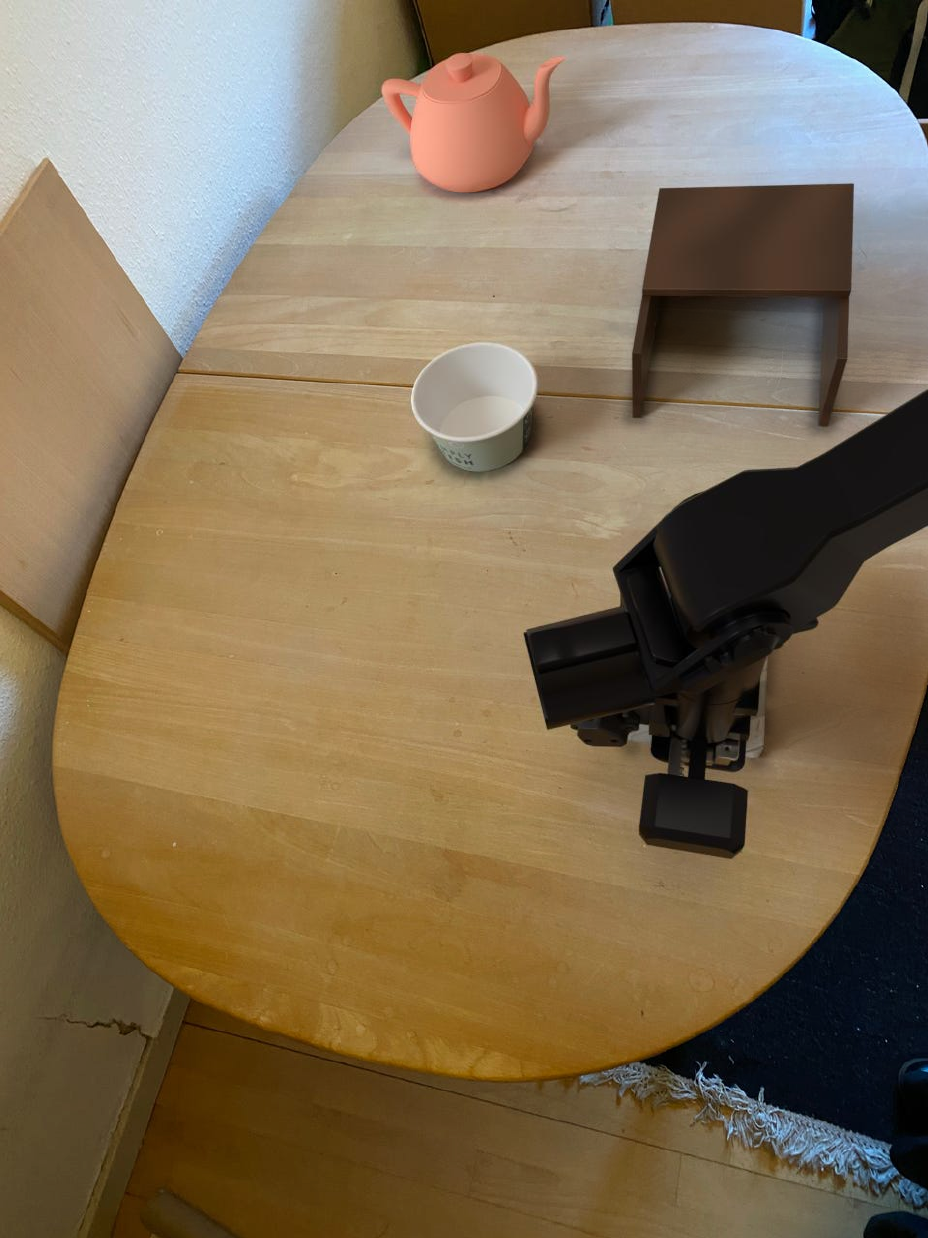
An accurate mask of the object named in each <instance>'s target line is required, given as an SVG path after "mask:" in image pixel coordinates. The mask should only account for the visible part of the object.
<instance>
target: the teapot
mask: <svg viewBox="0 0 928 1238" xmlns="http://www.w3.org/2000/svg"><path fill="white" fill-rule="evenodd" d="M564 58H565V57H564V56H562V55H561V56H556V57H553V58H550V59H548V60H547V61H545V62H543V63H542V64H541V65H539V67H538V69H537V71H536V73H535V75H534V82H533V101H532V103H530V101H529V98H528V96H527V94H526V92H525V90H524V89H523V87H522V86H521V85H520V83H519V82H518V80H517V79H516V77H515V76H514V75H513V74H512V72H511V71H510V70H509V69H508V68H507V67H506V66H505V65H504V64H503V63H502V62H501V61H500V60H499V59H498V58H496V57H494V56H491V55H488V54H483V53H467V52H458V53H455V54H453V55H451V56H449V57H448V58H446V59H443V60H442V61H440V62H438V63H437V64H435V65H434V66H433V67H432V68H431V69H430V70H429V71H428V73H427V74H426V76H425V77H424V79H423V81H422V83H421V84H420V83H418V82H415V81H411V80H407V79H402V78H389V79H387V80H385V81H384V82H383V83H382V85H381V94H382V98H383V100H384V103H385V104H386V106H387V107H388V109H389V112H391V113H392V115H393V116H394V117H395V119H396V121H397V122H398V123H399V124H400V125H401V127H403V129H404V130H405V132H407V133H408V134H409V136H410V137H409V138H410V143H409V144H410V145H409V146H410V153H411V158H412V163H413V165H414V167H415V169H416V171H417V172H418V173H419V175H420V176H421V177H423V179H425V180H427V181H428V182H429V183H431V184H433V185H434V186H436V187H438V188H440V189H443V190H445V191H449V192H456V193H477V192H481V191H485V190H488V189H493V188H495V187H498V186H500V185H502V184H504V183H506V182H507V181H509V180H510V179H512V178H513V177H514V176H515V175H517V173H519V171H520V170H521V169H522V167H523V166H524V165H525V163H526V161H527V159H528V158H529V157H530V155H531V153H532V151H533V148H534V147H535V143H536V141H537V140H538V139H539V138H540V137H541V136H542V134H543V133H544V131H545V130H546V128H547V125H548V122H549V120H550V119H549V118H550V111H551V110H550V109H551V108H550V107H551V103H550V82H551V81H550V80H551V76H552V74H553V72H554V71H555V69H556V68H557V67H558V65H560V64H561V63H562V62H563V60H564ZM400 94H401V95H406V96H410V97H414V98H416V101H415V104H414V108H413V112H412V115H411V114H410V113H409V111H408V109H407V107H406V106H405V104H404V102H403V100H402V98H401V96H400Z"/></svg>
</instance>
